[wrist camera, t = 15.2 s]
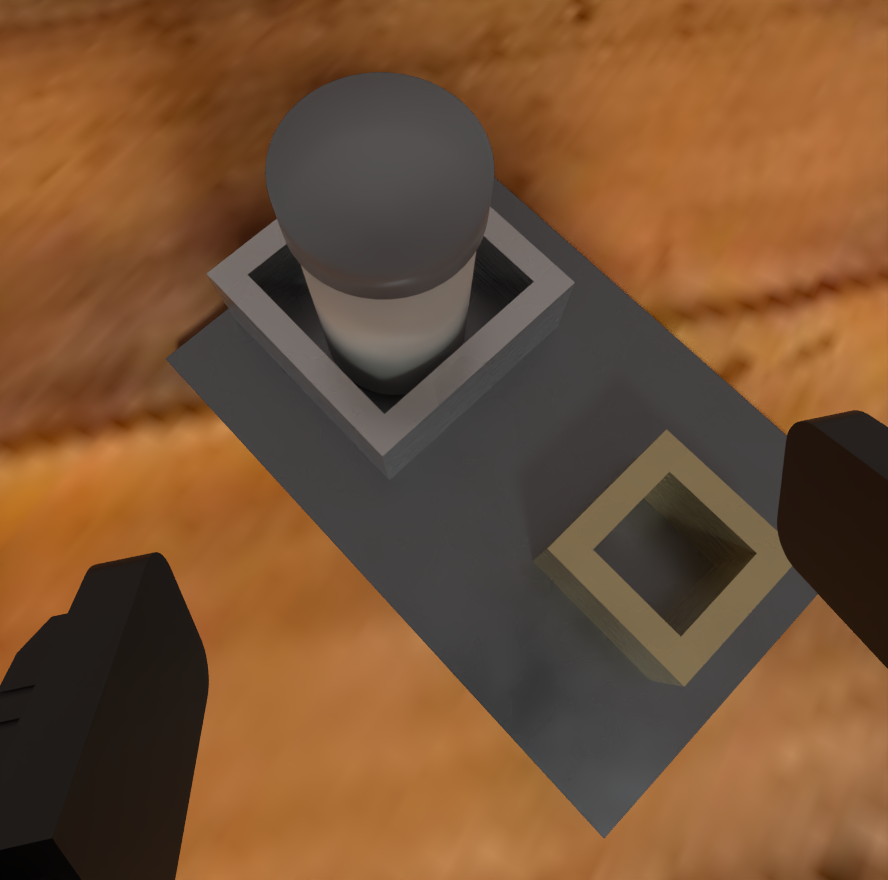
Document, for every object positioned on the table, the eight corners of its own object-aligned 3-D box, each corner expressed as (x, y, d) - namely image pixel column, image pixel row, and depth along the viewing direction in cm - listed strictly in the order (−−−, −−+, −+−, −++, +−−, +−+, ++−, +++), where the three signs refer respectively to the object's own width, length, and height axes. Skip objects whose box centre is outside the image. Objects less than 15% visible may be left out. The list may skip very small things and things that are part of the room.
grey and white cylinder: (290, 323, 27) (218, 157, 18) (402, 236, 29) (391, 35, 19) (388, 430, 26) (367, 315, 17) (500, 335, 28) (541, 176, 18)
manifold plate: (179, 373, 29) (127, 318, 24) (445, 157, 32) (447, 70, 27) (594, 826, 24) (633, 873, 19) (858, 526, 27) (949, 501, 22)
